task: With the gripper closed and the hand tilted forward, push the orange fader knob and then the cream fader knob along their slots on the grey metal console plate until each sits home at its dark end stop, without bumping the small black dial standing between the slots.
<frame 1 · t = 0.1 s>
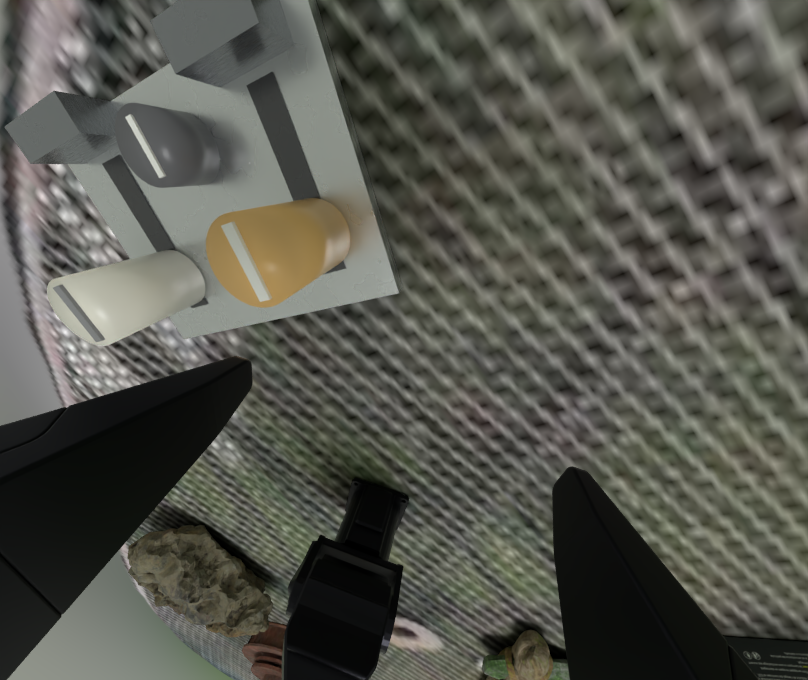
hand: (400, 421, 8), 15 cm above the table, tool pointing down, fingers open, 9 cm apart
orange knob: (288, 247, 17), point 5 cm above the table, slide at 0.0 cm
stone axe: (518, 661, 49), on the table
desk lamp: (301, 644, 67), on the table
stone: (218, 555, 54), on the table
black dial: (191, 150, 20), point 1 cm above the table, touching console plate
tampon box: (769, 658, 34), on the table
console plate: (235, 213, 22), on the table
cream knob: (136, 293, 21), point 5 cm above the table, slide at 0.0 cm
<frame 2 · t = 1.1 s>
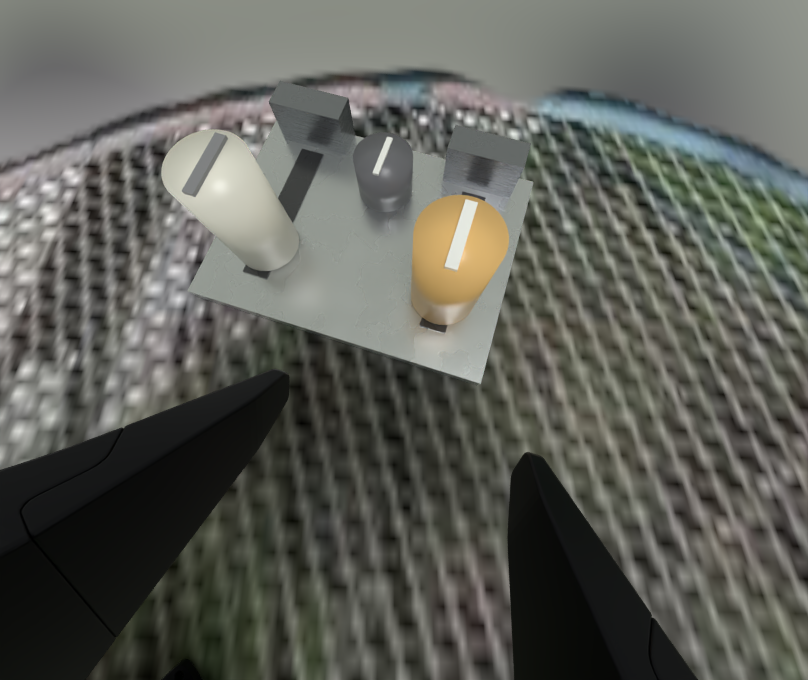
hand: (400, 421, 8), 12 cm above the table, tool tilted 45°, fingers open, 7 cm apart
orange knob: (450, 269, 18), point 5 cm above the table, slide at 0.0 cm
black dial: (385, 189, 23), point 1 cm above the table, touching console plate
console plate: (369, 243, 24), on the table
cream knob: (242, 210, 19), point 5 cm above the table, slide at 0.0 cm
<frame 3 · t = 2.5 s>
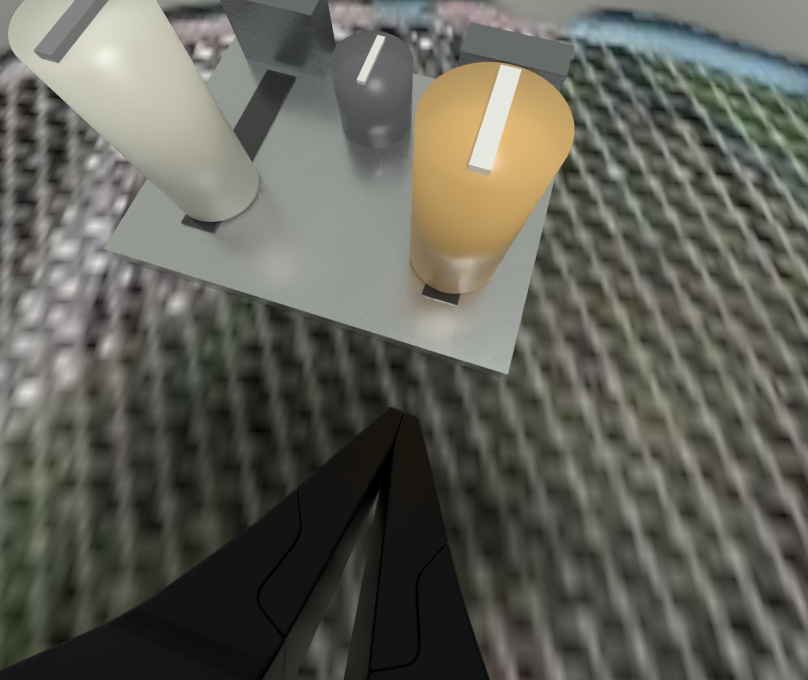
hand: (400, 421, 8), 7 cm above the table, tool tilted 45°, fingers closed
orange knob: (469, 203, 12), point 5 cm above the table, slide at 0.0 cm
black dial: (376, 119, 18), point 1 cm above the table, touching console plate
console plate: (355, 191, 18), on the table
cream knob: (165, 121, 13), point 5 cm above the table, slide at 0.0 cm
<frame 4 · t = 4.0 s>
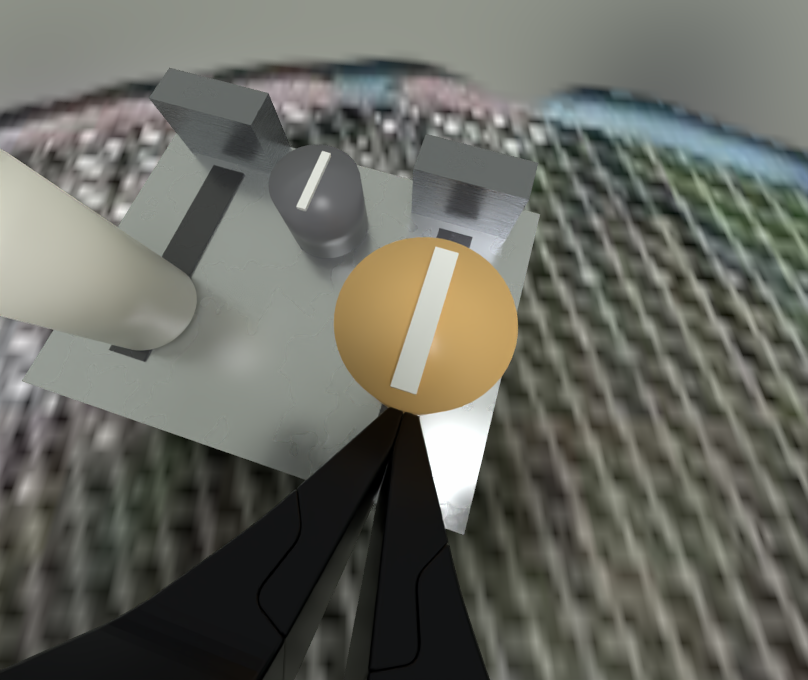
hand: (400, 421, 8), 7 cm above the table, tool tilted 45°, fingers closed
orange knob: (418, 349, 11), point 5 cm above the table, slide at 1.0 cm, touching gripper
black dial: (330, 224, 16), point 1 cm above the table, touching console plate
console plate: (308, 300, 17), on the table
cream knob: (72, 270, 11), point 5 cm above the table, slide at 0.0 cm
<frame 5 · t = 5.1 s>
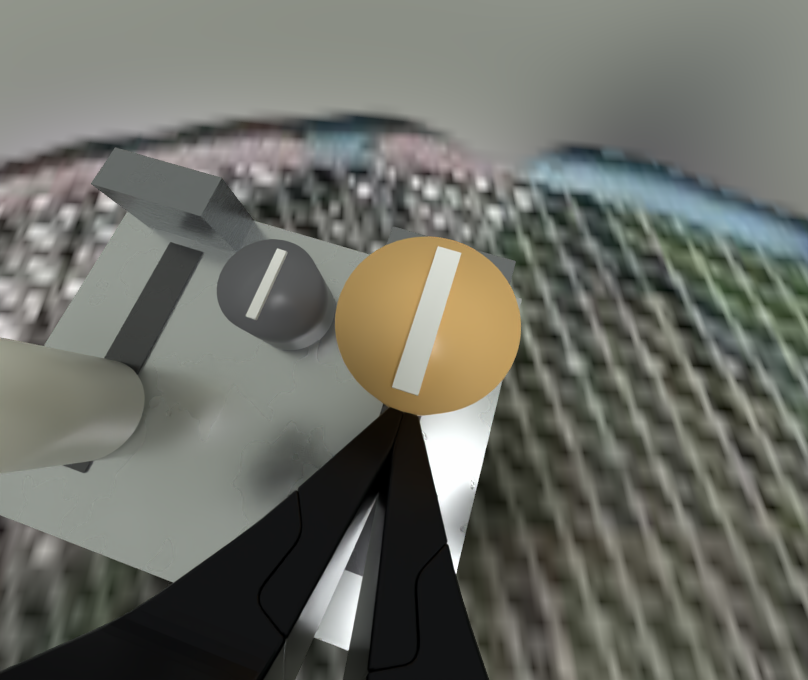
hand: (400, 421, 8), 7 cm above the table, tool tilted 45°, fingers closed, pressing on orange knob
orange knob: (420, 349, 11), point 5 cm above the table, slide at 6.1 cm, touching gripper
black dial: (293, 310, 15), point 1 cm above the table, touching console plate
console plate: (270, 391, 15), on the table
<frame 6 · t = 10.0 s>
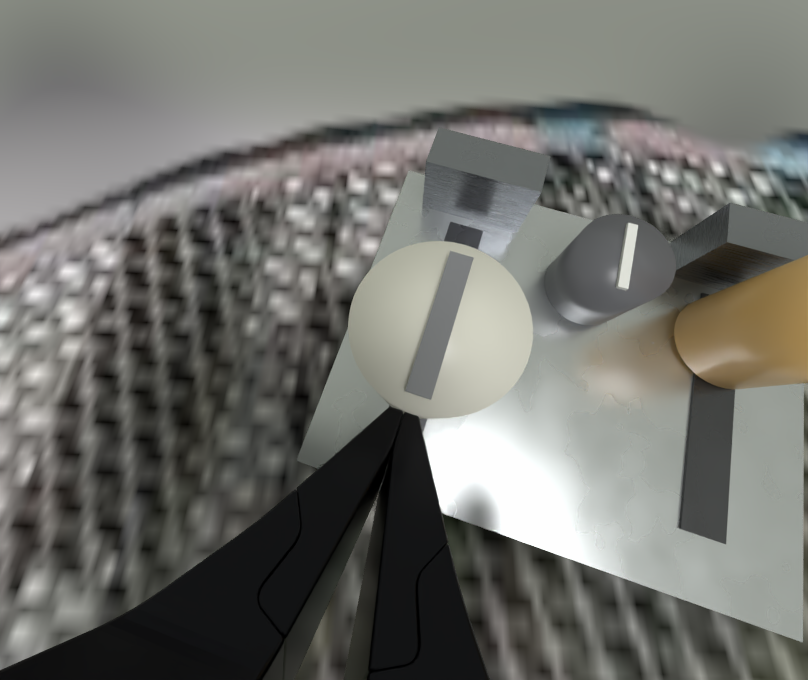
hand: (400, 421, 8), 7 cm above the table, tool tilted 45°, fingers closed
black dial: (584, 287, 15), point 1 cm above the table, touching console plate
console plate: (556, 366, 16), on the table
cream knob: (429, 352, 11), point 5 cm above the table, slide at 0.5 cm, touching gripper
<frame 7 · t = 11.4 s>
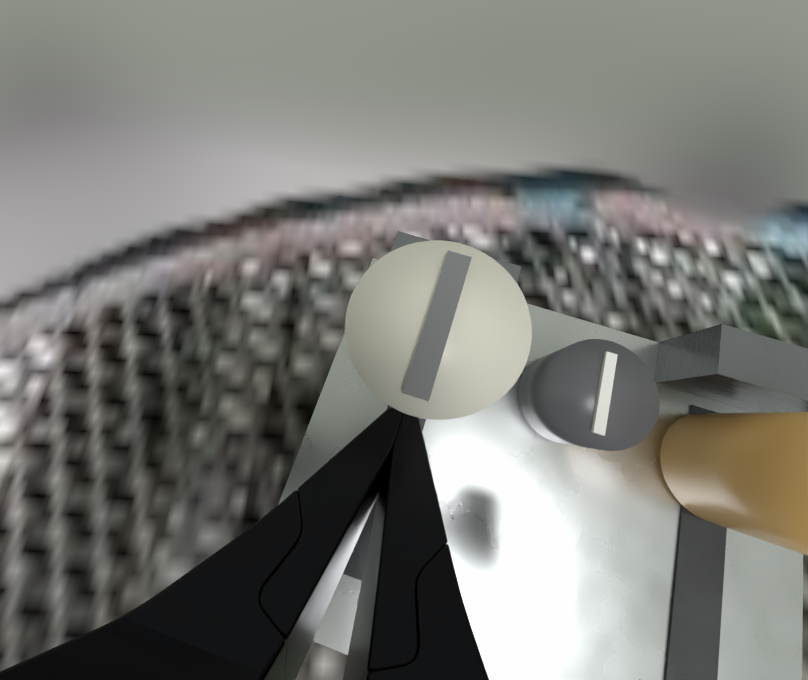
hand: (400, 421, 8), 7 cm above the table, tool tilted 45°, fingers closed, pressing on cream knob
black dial: (562, 397, 14), point 1 cm above the table, touching console plate
console plate: (532, 483, 14), on the table
cream knob: (427, 352, 11), point 5 cm above the table, slide at 6.3 cm, touching gripper
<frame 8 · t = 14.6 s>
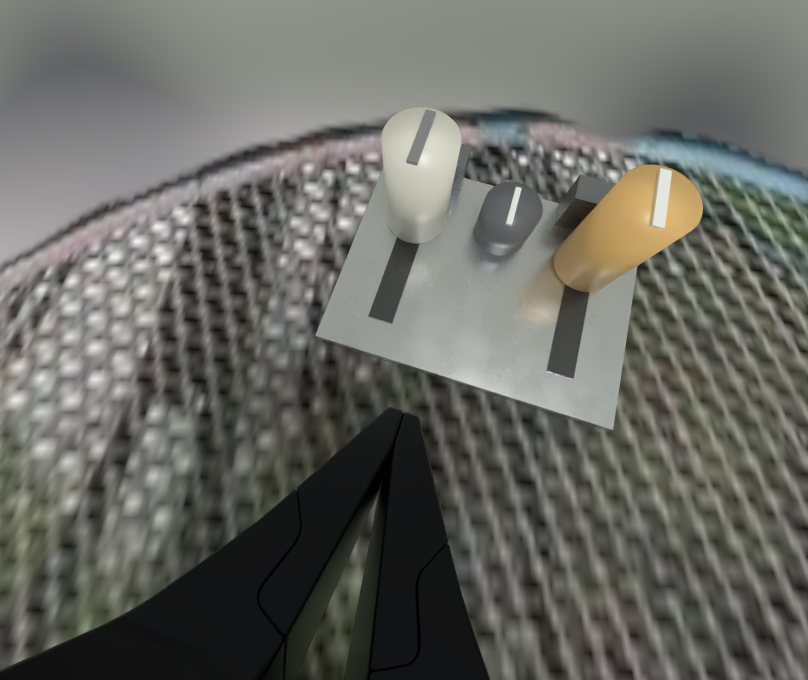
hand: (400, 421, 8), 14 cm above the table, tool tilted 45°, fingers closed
orange knob: (615, 236, 19), point 5 cm above the table, slide at 6.0 cm
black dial: (499, 232, 24), point 1 cm above the table, touching console plate
console plate: (483, 284, 24), on the table
cream knob: (418, 183, 20), point 5 cm above the table, slide at 6.0 cm
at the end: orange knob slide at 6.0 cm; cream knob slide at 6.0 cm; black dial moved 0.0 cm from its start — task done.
